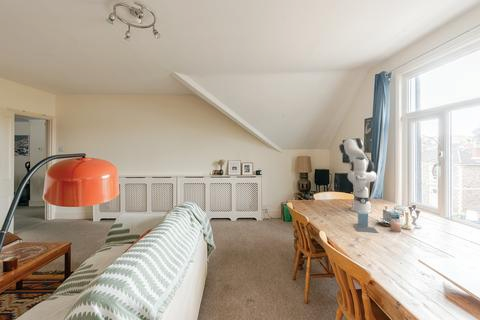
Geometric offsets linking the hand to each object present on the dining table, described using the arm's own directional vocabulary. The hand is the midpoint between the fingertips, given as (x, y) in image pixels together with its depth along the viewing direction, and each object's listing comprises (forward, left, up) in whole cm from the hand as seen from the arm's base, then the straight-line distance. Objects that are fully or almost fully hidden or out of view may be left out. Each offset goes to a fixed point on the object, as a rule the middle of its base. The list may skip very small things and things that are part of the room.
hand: (359, 193), depth 179 cm
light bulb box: (+2, +22, -23) cm, 32 cm away
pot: (+18, +20, -23) cm, 35 cm away
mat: (+21, 0, -23) cm, 31 cm away
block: (+12, 0, -23) cm, 26 cm away
